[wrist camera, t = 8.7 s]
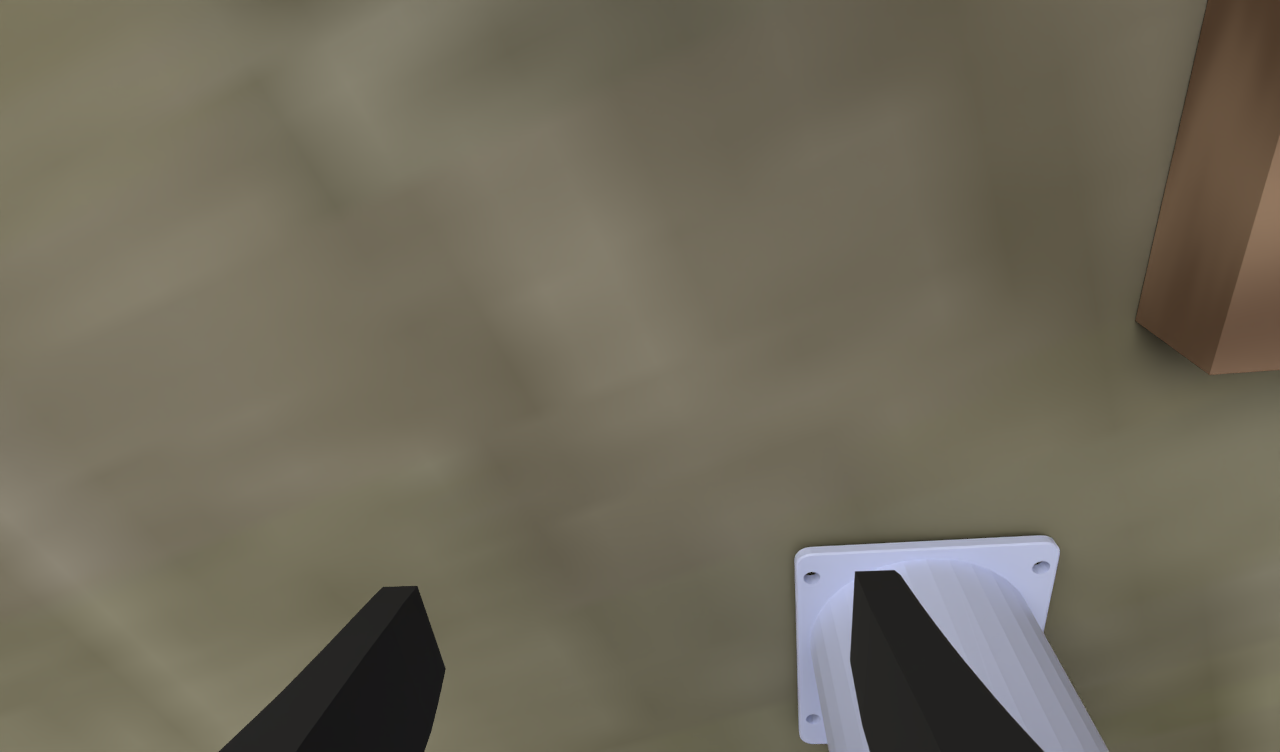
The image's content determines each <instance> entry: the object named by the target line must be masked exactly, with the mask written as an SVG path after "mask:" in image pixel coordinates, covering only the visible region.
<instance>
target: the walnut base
mask: <svg viewBox="0 0 1280 752" xmlns="http://www.w3.org/2000/svg"><path fill="white" fill-rule="evenodd" d="M1135 321H1136V322H1138V323H1139V324H1141V325H1142V326H1143V327H1145V328H1146V329H1147V330H1149V331H1150V332H1152V333H1153V334H1154V335H1156V336H1157V337H1158V338H1160V339H1161V340H1162V341H1164V342H1165V343H1167V344H1168V345H1169V346H1171V347H1172V348H1173V349H1175V350H1176V351H1177V352H1179V353H1180V354H1182V355H1183V356H1184V357H1186V358H1187V359H1188V360H1190V361H1191V362H1193V363H1194V364H1195V365H1197V366H1198V367H1199V368H1201V369H1202V370H1203V371H1205V372H1206V373H1208V374H1209V375H1215V374H1229V373H1242V372H1256V371H1270V370H1280V0H1208V3H1207V8H1206V12H1205V16H1204V21H1203V25H1202V30H1201V34H1200V38H1199V43H1198V47H1197V52H1196V56H1195V60H1194V65H1193V69H1192V74H1191V78H1190V82H1189V87H1188V91H1187V96H1186V100H1185V104H1184V109H1183V113H1182V118H1181V122H1180V126H1179V131H1178V135H1177V140H1176V144H1175V148H1174V153H1173V157H1172V162H1171V166H1170V170H1169V175H1168V179H1167V184H1166V188H1165V192H1164V197H1163V201H1162V206H1161V210H1160V214H1159V219H1158V223H1157V228H1156V232H1155V236H1154V241H1153V245H1152V250H1151V254H1150V258H1149V263H1148V267H1147V272H1146V276H1145V280H1144V285H1143V289H1142V294H1141V298H1140V302H1139V307H1138V311H1137V316H1136V320H1135Z"/></svg>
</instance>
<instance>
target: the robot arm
mask: <svg viewBox="0 0 1280 752" xmlns="http://www.w3.org/2000/svg"><path fill="white" fill-rule="evenodd" d="M1059 556H1060V549H1059V547H1058V546H1057V544H1056V543H1055V541H1054V540H1053V539H1052V538H1051V537H1049V536H1043V535H1036V536H1016V537H996V538H977V539H957V540H937V541H917V542H897V543H878V544H858V545H838V546H818V547H807V548H803V549H801V550H800V551H798V553H797V554H796V555H795V559H794V564H795V604H796V644H797V684H798V724H799V734H800V738H801V739H802V740H803V741H804V742H806V743H809V744H828V749H829V752H1109V750H1108V748H1107V746H1106V745H1105V743H1104V741H1103V739H1102V737H1101V736H1100V734H1099V732H1098V730H1097V728H1096V727H1095V725H1094V723H1093V721H1092V719H1091V718H1090V716H1089V714H1088V712H1087V710H1086V709H1085V707H1084V705H1083V703H1082V701H1081V700H1080V698H1079V696H1078V694H1077V692H1076V691H1075V689H1074V687H1073V685H1072V683H1071V682H1070V680H1069V678H1068V676H1067V674H1066V673H1065V671H1064V669H1063V667H1062V665H1061V664H1060V662H1059V660H1058V658H1057V656H1056V655H1055V653H1054V651H1053V649H1052V647H1051V646H1050V644H1049V642H1048V640H1047V638H1046V637H1045V635H1044V628H1045V623H1046V618H1047V613H1048V609H1049V604H1050V599H1051V594H1052V589H1053V584H1054V580H1055V575H1056V570H1057V565H1058V560H1059ZM1041 561H1043V562H1041ZM1037 562H1041V563H1040V564H1037V565H1034V564H1036V563H1037ZM809 572H816V573H815V574H814V575H806V574H807V573H809ZM444 674H445V666H444V663H443V660H442V657H441V654H440V651H439V648H438V645H437V642H436V640H435V637H434V634H433V631H432V628H431V625H430V622H429V619H428V616H427V613H426V610H425V607H424V604H423V601H422V598H421V596H420V593H419V590H418V587H417V586H400V587H382V588H381V589H380V590H379V591H378V592H377V593H376V594H375V595H374V596H373V597H372V599H371V600H370V601H369V602H368V603H367V604H366V605H365V606H364V607H363V608H362V609H361V610H360V611H359V612H358V613H357V614H356V615H355V616H354V617H353V618H352V619H351V621H350V622H349V623H348V624H347V625H346V626H345V627H344V628H343V629H342V630H341V631H340V632H339V633H338V634H337V635H336V636H335V637H334V638H333V640H332V641H331V642H330V643H329V644H328V645H327V646H326V647H325V648H324V649H323V650H322V651H321V652H320V653H319V654H318V655H317V656H316V657H315V658H314V659H313V660H312V661H311V662H310V663H309V664H308V665H307V666H306V667H305V668H304V670H303V671H302V672H301V673H300V674H299V675H298V676H297V677H296V678H295V679H294V680H293V681H292V682H291V683H290V684H289V685H288V686H287V687H286V688H285V689H284V690H283V691H282V692H281V693H280V694H279V695H278V696H277V697H276V698H275V699H274V700H273V701H272V702H271V703H270V704H268V705H267V706H266V707H265V708H264V709H263V710H262V711H261V712H260V713H259V714H258V715H257V716H256V717H255V718H254V719H253V720H252V721H251V722H250V723H249V724H247V725H246V726H245V727H244V728H243V729H242V730H241V731H240V732H239V733H238V734H237V735H236V736H235V737H234V738H233V739H232V740H231V741H230V742H229V743H228V744H226V745H225V746H224V747H223V748H222V749H221V750H220V751H219V752H424V750H425V748H426V745H427V742H428V739H429V736H430V733H431V730H432V726H433V722H434V718H435V714H436V710H437V706H438V701H439V697H440V692H441V688H442V683H443V679H444Z"/></svg>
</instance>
